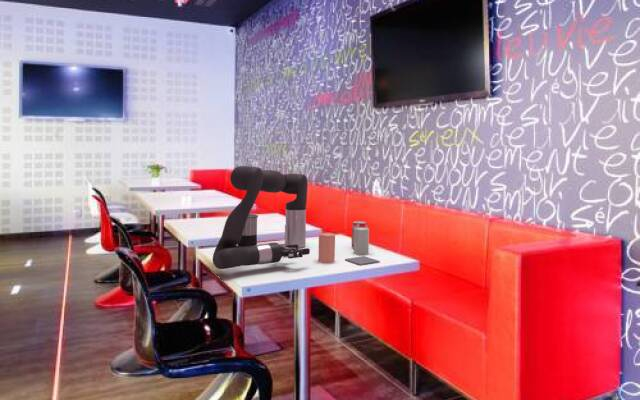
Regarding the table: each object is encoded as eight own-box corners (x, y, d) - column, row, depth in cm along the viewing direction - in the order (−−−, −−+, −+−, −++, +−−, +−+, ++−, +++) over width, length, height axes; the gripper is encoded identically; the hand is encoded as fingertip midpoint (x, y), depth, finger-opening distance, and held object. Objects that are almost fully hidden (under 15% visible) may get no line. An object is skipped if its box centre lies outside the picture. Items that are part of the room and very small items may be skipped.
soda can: (366, 250, 224) (366, 223, 222) (350, 249, 225) (350, 223, 224) (367, 247, 230) (368, 221, 229) (352, 246, 232) (353, 220, 230)
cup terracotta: (315, 260, 203) (316, 233, 202) (328, 258, 206) (328, 232, 205) (324, 263, 198) (324, 236, 196) (337, 261, 201) (337, 234, 200)
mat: (344, 260, 203) (344, 259, 203) (364, 257, 209) (364, 256, 209) (360, 265, 195) (360, 264, 195) (379, 262, 201) (379, 261, 201)
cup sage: (351, 252, 218) (351, 227, 216) (362, 251, 221) (362, 226, 220) (359, 255, 213) (360, 230, 211) (371, 253, 216) (371, 228, 215)
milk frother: (255, 245, 232) (255, 213, 230) (262, 252, 217) (262, 218, 215) (224, 246, 227) (224, 214, 226) (229, 254, 213) (229, 219, 211)
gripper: (275, 247, 180) (313, 242, 189) (257, 240, 192) (294, 236, 201) (275, 267, 181) (313, 262, 190) (257, 259, 192) (293, 255, 201)
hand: (303, 249), depth 195 cm, fingers open, 8 cm apart
